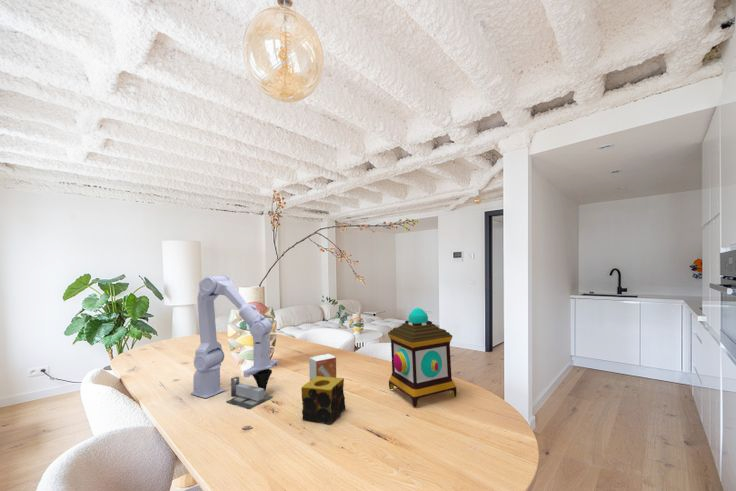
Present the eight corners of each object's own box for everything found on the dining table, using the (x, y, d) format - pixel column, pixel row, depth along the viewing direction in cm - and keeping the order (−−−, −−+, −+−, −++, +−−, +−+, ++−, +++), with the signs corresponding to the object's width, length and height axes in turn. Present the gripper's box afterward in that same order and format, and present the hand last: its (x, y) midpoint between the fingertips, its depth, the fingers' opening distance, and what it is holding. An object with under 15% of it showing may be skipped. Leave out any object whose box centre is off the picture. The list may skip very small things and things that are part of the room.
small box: (316, 399, 106) (315, 361, 107) (309, 393, 111) (308, 357, 112) (337, 393, 111) (336, 356, 112) (329, 388, 116) (328, 353, 117)
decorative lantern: (412, 411, 95) (408, 313, 97) (383, 389, 113) (380, 307, 115) (463, 398, 103) (458, 308, 105) (428, 379, 121) (425, 302, 123)
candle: (346, 409, 98) (345, 377, 99) (332, 425, 88) (331, 390, 89) (317, 406, 101) (317, 375, 102) (301, 421, 92) (300, 386, 92)
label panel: (226, 402, 106) (226, 400, 106) (250, 391, 115) (250, 390, 115) (249, 409, 100) (249, 407, 100) (272, 397, 109) (272, 396, 109)
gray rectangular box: (235, 394, 110) (235, 385, 111) (241, 392, 113) (241, 383, 113) (258, 400, 105) (258, 391, 105) (264, 398, 107) (264, 388, 107)
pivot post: (229, 395, 112) (229, 379, 112) (236, 393, 114) (236, 376, 115) (234, 397, 110) (234, 380, 111) (241, 394, 113) (241, 377, 113)
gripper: (253, 359, 104) (253, 401, 103) (284, 349, 117) (284, 385, 116) (239, 357, 107) (239, 397, 106) (270, 347, 120) (271, 382, 119)
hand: (262, 391), depth 111 cm, fingers closed
